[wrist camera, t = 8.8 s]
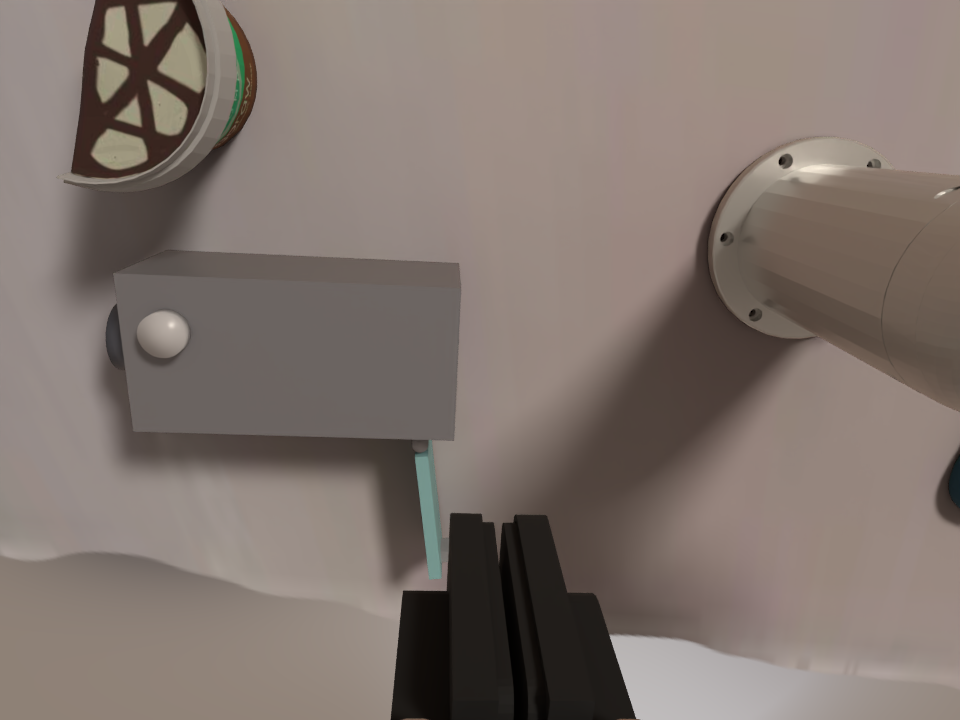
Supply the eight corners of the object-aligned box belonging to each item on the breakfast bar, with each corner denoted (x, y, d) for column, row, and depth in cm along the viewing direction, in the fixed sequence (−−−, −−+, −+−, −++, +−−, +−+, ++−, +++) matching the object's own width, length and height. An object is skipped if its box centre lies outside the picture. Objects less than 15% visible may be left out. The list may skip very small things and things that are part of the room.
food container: (251, 209, 40) (191, 233, 31) (148, 175, 39) (54, 189, 30) (301, -6, 37) (251, -54, 27) (189, -49, 36) (96, -114, 26)
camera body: (458, 263, 42) (461, 292, 34) (452, 401, 45) (453, 456, 37) (140, 248, 41) (70, 275, 33) (156, 392, 44) (95, 446, 36)
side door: (414, 406, 45) (410, 438, 40) (436, 404, 45) (435, 436, 40) (429, 535, 48) (427, 579, 44) (450, 533, 48) (450, 577, 44)
